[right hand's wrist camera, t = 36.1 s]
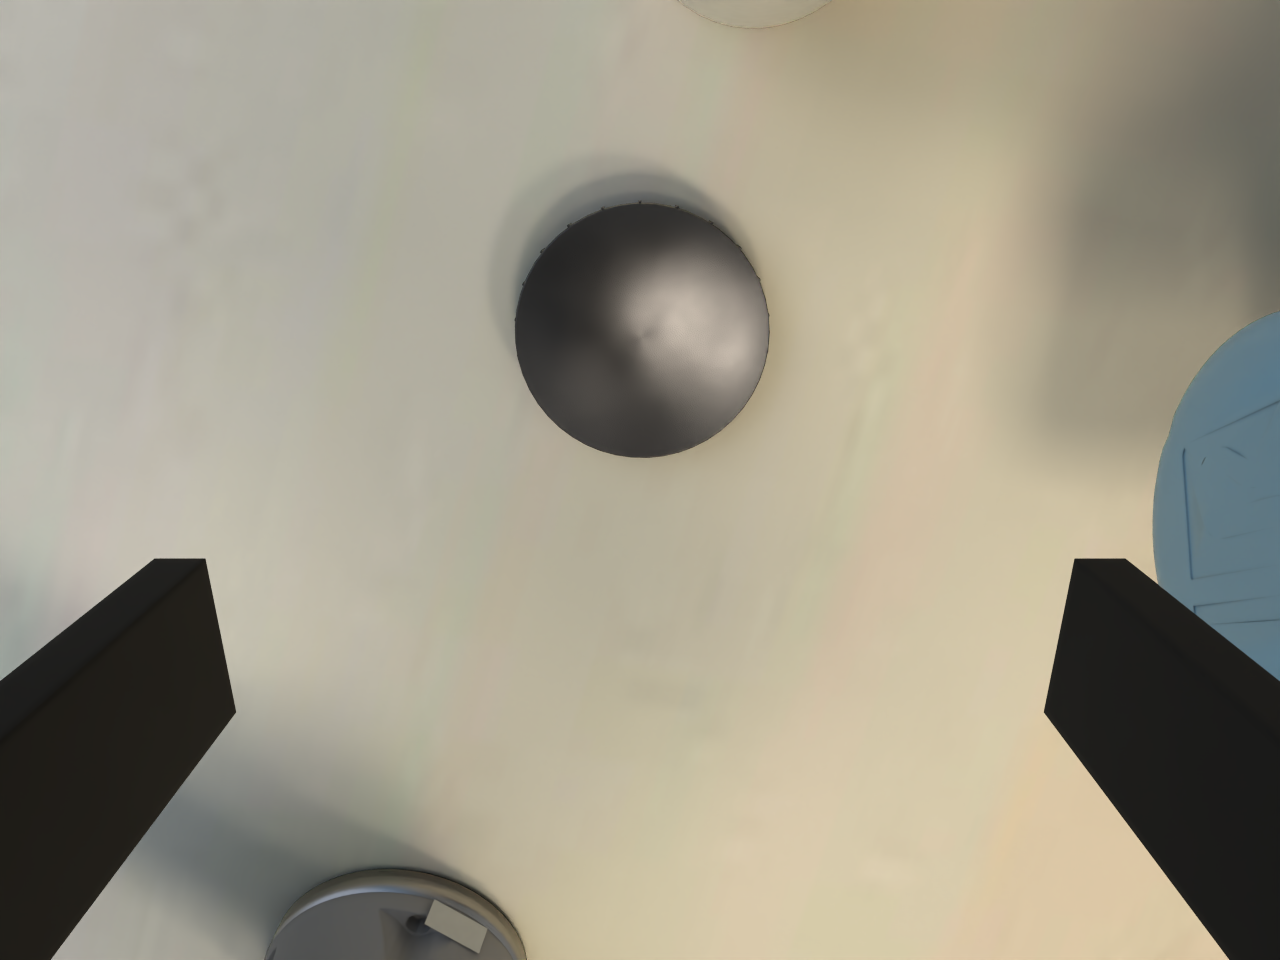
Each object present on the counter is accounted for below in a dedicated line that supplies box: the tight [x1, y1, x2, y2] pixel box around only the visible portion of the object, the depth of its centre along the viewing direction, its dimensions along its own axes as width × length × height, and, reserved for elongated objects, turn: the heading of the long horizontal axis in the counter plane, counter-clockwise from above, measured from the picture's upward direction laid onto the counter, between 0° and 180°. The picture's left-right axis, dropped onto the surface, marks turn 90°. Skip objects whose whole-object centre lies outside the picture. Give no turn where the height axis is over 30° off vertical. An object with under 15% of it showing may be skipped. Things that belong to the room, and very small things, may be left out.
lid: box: [515, 200, 769, 458], centre depth 36 cm, size 11×11×2 cm
